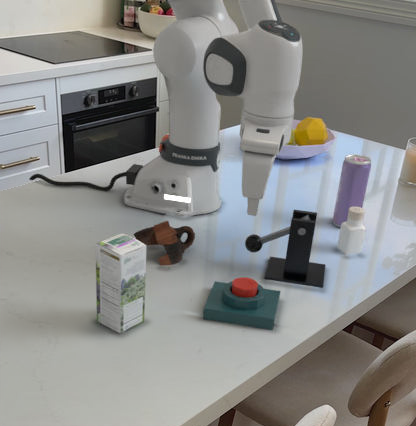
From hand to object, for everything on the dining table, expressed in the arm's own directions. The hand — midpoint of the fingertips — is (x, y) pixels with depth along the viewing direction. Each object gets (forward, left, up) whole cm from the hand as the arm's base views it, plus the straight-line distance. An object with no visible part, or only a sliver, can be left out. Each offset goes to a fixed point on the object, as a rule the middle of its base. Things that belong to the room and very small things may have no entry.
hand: (255, 204), depth 123 cm
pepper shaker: (+19, +14, -13) cm, 27 cm away
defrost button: (+1, -16, -10) cm, 19 cm away
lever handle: (+6, 0, -7) cm, 9 cm away
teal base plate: (+1, -16, -13) cm, 21 cm away
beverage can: (+18, +29, -13) cm, 36 cm away
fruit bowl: (-1, +75, -13) cm, 76 cm away
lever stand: (+9, 0, -13) cm, 16 cm away
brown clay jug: (-17, -1, -13) cm, 21 cm away
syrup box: (-18, -26, -13) cm, 35 cm away
